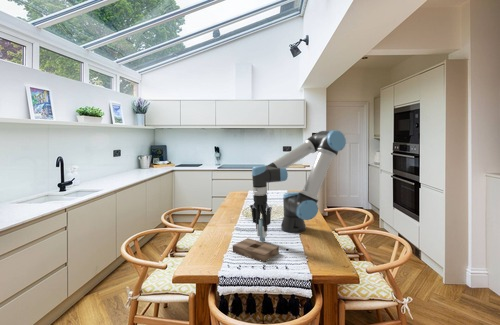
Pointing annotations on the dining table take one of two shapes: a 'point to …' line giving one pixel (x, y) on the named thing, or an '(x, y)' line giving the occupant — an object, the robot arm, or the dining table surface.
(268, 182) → the robot arm
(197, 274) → the dining table surface
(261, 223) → the peg
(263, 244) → the hole block
